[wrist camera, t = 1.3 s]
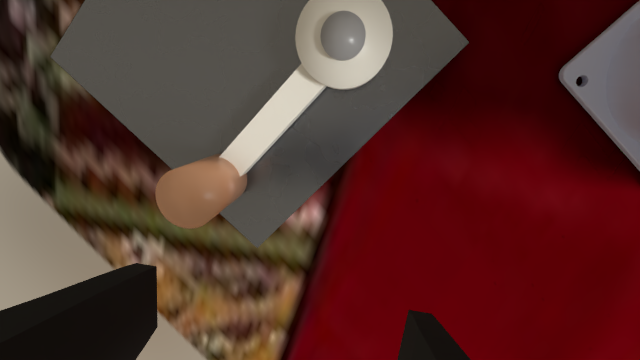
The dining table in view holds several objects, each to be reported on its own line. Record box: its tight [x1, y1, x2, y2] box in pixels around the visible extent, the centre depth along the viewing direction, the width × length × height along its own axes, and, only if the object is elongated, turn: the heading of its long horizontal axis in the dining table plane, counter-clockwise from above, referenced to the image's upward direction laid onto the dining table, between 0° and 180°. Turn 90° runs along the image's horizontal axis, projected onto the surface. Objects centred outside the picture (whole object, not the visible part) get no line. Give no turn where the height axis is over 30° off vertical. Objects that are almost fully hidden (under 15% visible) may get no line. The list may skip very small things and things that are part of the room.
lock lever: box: [155, 0, 393, 229], centre depth 13 cm, size 4×12×4 cm, turn 136°
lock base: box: [50, 0, 469, 248], centre depth 15 cm, size 16×16×1 cm
